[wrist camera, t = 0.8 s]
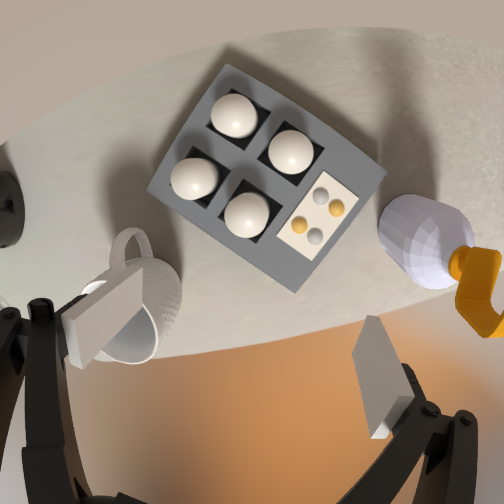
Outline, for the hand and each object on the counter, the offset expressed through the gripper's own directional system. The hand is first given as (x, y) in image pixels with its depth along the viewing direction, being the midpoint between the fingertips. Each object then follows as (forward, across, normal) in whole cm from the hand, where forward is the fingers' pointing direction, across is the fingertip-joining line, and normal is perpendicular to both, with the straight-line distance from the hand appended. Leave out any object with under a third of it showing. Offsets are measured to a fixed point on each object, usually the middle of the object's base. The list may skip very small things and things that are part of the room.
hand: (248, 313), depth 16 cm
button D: (+20, 0, +9) cm, 22 cm away
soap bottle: (+23, +18, +4) cm, 29 cm away
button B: (+20, -6, +12) cm, 24 cm away
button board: (+22, -2, +6) cm, 23 cm away
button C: (+20, -3, +2) cm, 20 cm away
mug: (+22, -15, -10) cm, 29 cm away
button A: (+20, -9, +5) cm, 22 cm away
